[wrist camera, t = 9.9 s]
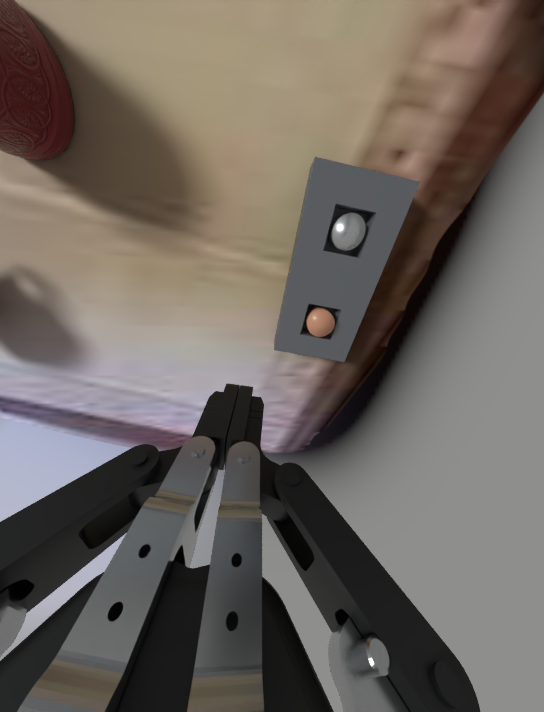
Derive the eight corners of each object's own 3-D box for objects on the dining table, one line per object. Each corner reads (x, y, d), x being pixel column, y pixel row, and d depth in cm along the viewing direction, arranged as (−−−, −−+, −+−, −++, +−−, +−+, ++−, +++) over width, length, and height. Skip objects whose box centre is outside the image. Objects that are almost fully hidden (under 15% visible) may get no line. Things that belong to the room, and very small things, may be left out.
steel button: (332, 211, 27) (338, 209, 25) (362, 218, 28) (370, 216, 25) (323, 245, 29) (328, 247, 27) (351, 251, 30) (358, 253, 27)
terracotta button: (309, 303, 33) (311, 309, 30) (333, 308, 33) (338, 314, 30) (302, 326, 35) (304, 334, 32) (326, 331, 35) (329, 338, 32)
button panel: (310, 167, 26) (315, 156, 23) (401, 188, 27) (420, 181, 23) (274, 339, 38) (274, 349, 34) (338, 350, 39) (344, 362, 35)
